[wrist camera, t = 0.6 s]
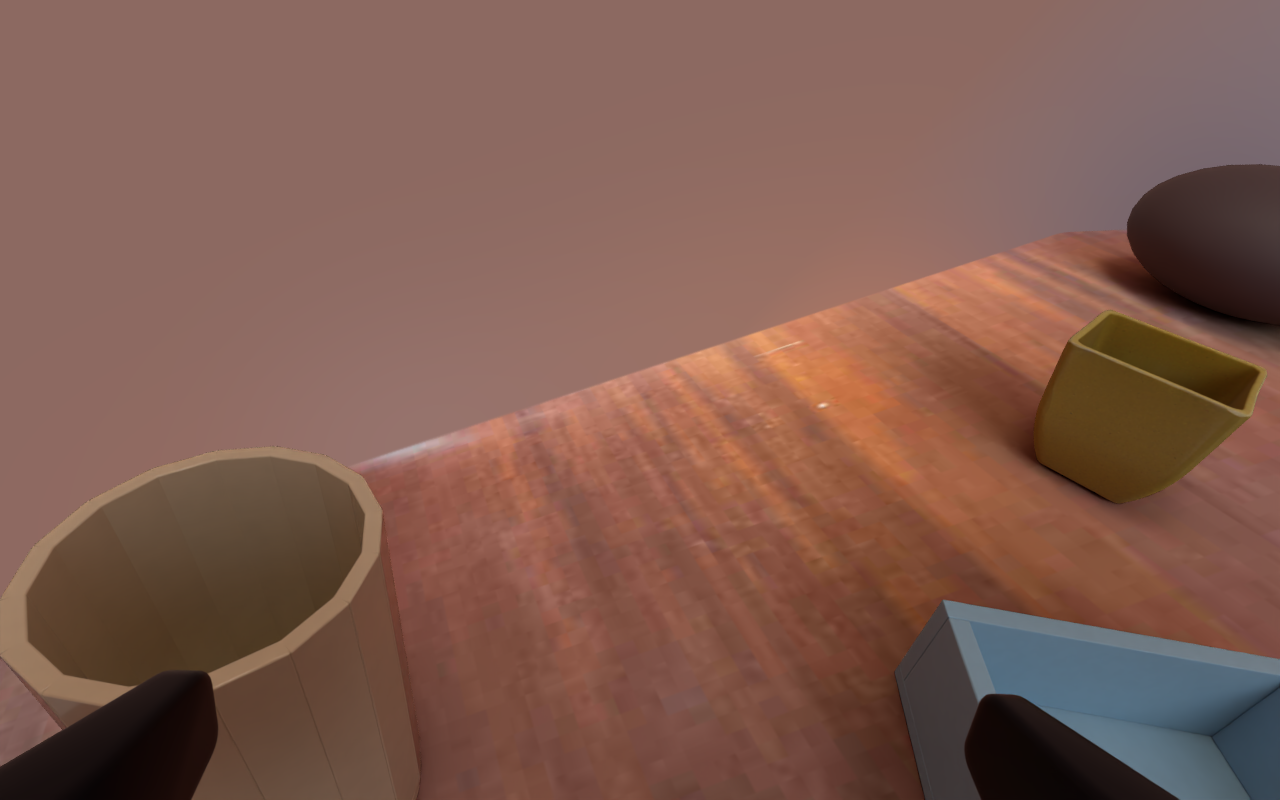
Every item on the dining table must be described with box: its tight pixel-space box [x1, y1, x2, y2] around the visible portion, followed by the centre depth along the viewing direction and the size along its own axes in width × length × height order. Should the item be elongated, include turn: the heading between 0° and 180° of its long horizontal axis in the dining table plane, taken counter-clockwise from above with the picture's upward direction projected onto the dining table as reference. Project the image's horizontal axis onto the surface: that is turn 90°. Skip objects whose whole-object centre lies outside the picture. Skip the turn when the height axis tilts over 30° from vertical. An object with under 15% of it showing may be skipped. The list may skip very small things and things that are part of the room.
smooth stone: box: [1127, 164, 1280, 325], centre depth 66 cm, size 25×25×15 cm
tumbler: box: [0, 446, 421, 800], centre depth 17 cm, size 7×7×12 cm
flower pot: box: [1034, 310, 1267, 503], centre depth 38 cm, size 9×9×9 cm
